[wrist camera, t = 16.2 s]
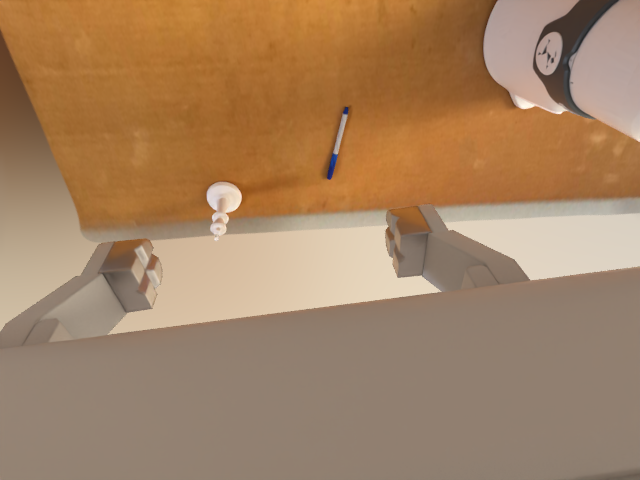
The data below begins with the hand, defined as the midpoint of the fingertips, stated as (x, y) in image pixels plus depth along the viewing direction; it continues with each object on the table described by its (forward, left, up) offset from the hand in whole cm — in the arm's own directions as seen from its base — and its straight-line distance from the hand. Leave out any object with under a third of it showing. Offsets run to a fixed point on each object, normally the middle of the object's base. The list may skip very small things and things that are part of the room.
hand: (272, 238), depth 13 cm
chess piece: (+10, +20, -37) cm, 44 cm away
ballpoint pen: (-7, +14, -37) cm, 41 cm away
